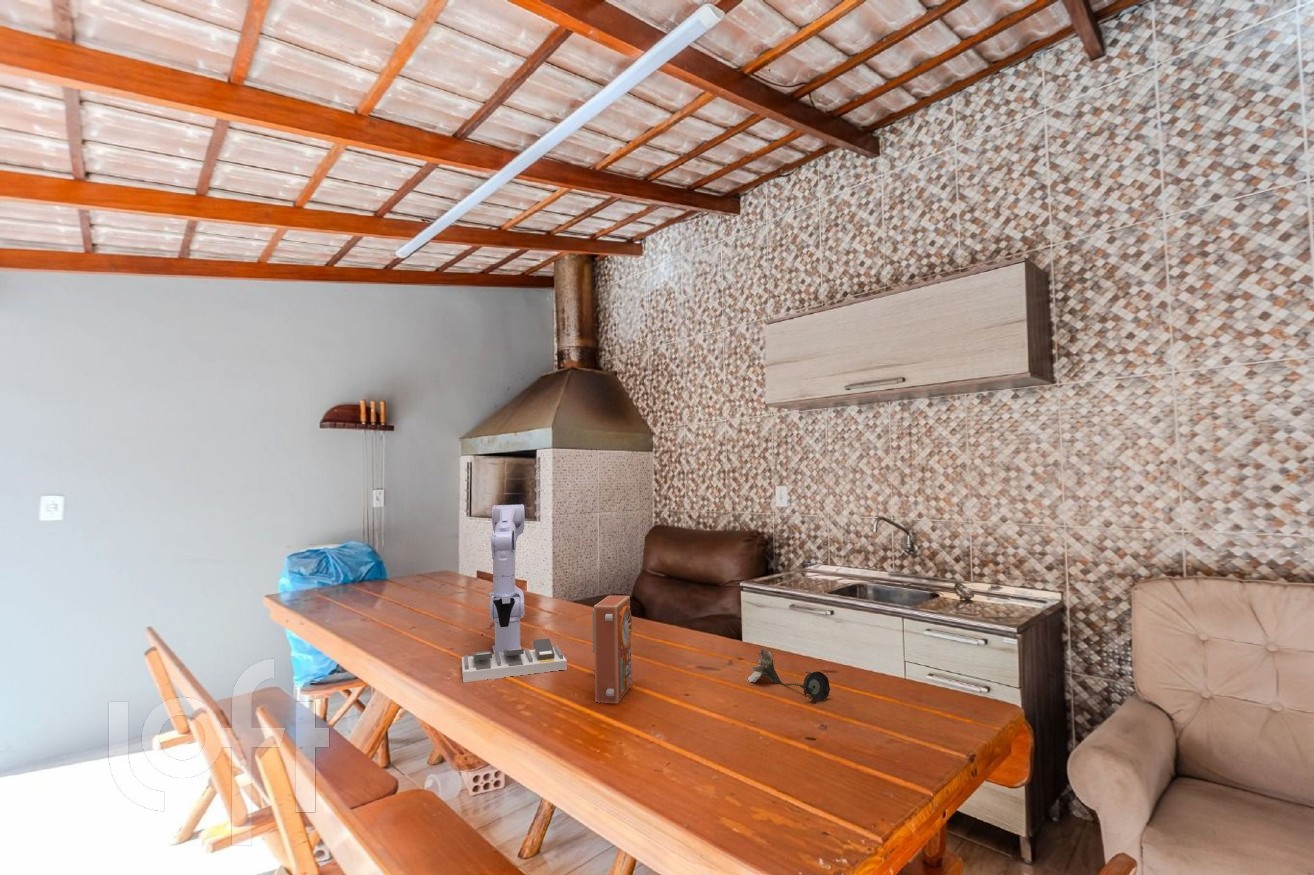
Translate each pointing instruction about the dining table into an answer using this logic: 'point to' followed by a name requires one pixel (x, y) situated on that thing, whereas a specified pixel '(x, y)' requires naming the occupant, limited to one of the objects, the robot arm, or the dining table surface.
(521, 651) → the middle rocker
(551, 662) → the switch board
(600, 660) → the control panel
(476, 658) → the rocker
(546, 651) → the block
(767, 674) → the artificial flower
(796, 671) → the dining table surface
